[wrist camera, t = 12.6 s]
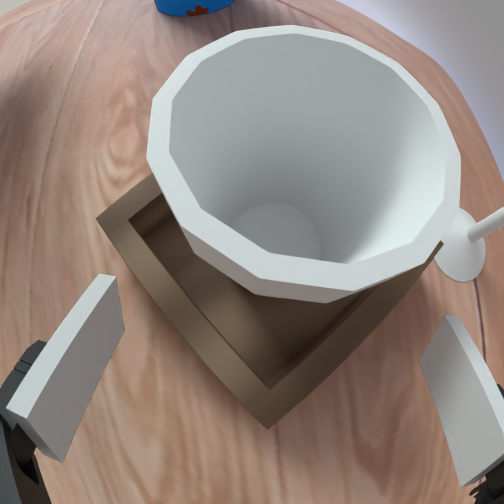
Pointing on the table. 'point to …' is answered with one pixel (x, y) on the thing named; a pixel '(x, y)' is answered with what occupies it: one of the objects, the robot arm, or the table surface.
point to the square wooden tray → (243, 310)
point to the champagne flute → (466, 245)
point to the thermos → (190, 6)
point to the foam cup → (303, 162)
